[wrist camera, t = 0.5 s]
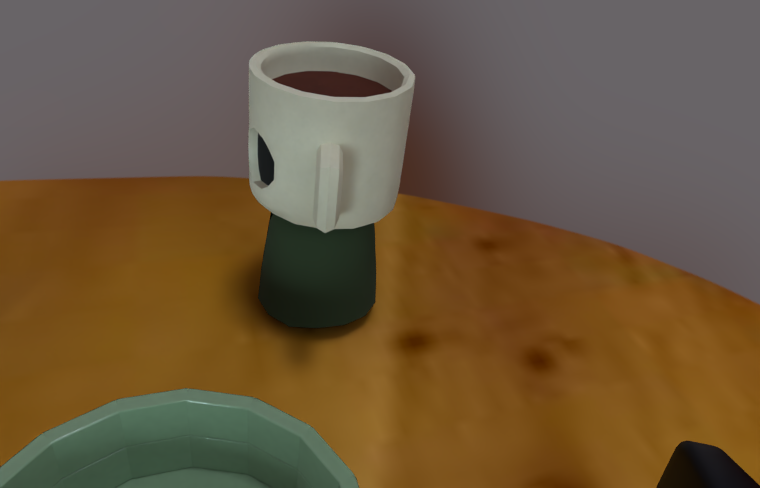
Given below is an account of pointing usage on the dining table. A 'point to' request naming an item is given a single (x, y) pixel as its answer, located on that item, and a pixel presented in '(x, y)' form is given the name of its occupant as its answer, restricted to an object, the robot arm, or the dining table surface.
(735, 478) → the robot arm
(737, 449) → the dining table surface
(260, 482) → the bowl
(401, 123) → the character mug
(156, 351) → the dining table surface
